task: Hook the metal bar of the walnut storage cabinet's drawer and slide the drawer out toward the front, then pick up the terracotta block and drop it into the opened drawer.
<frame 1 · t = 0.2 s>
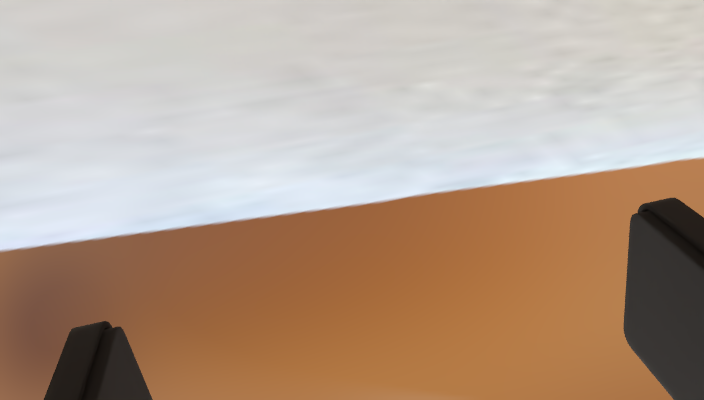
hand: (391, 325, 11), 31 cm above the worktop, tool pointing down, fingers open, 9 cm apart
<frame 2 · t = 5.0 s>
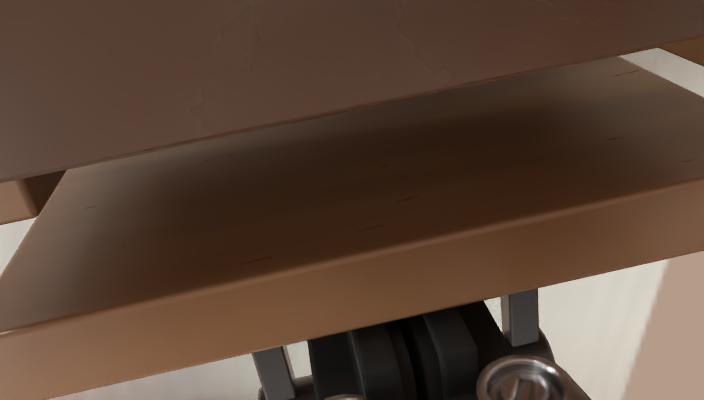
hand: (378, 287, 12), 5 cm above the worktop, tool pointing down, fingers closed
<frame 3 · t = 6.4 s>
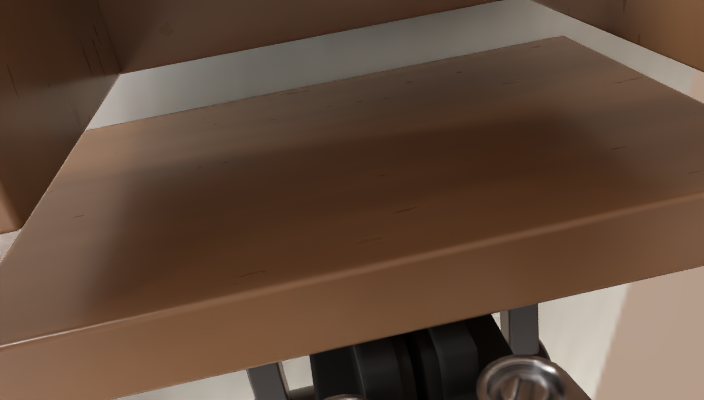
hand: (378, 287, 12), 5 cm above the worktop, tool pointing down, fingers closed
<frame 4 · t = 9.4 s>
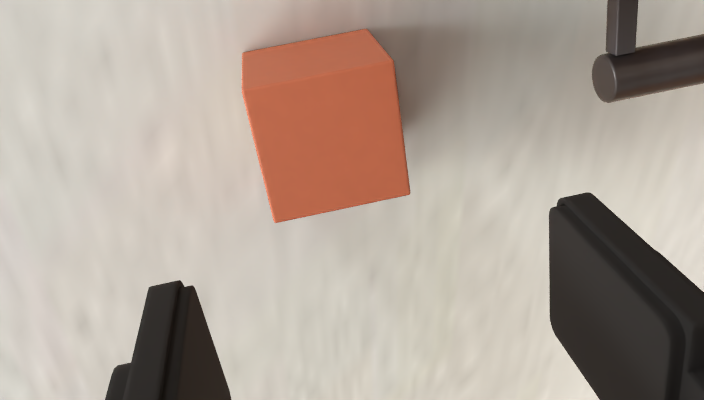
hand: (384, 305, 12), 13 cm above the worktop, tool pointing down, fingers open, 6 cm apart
block: (316, 100, 23), on the worktop
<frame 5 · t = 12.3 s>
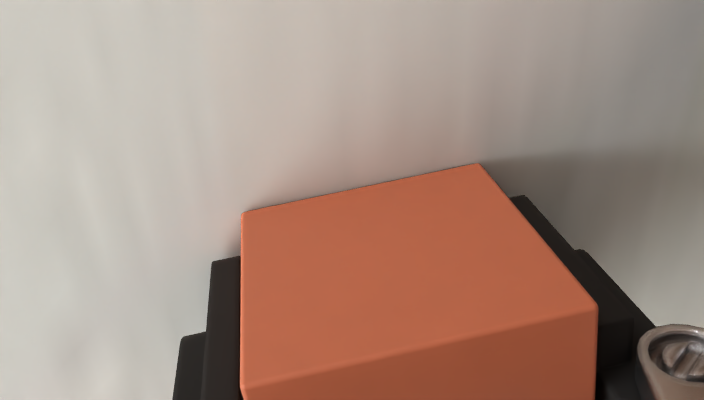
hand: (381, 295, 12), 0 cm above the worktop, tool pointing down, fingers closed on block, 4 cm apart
block: (377, 284, 13), on the worktop, touching gripper
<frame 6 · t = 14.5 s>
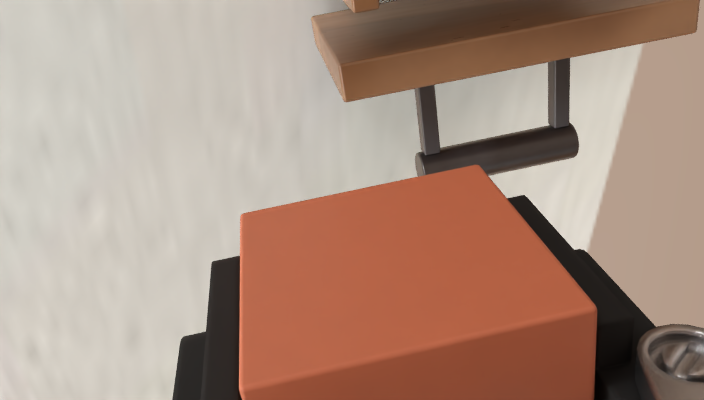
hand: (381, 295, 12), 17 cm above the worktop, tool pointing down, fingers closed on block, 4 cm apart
block: (377, 286, 13), point 16 cm above the worktop, touching gripper
when the fingers open (13 cm above the worktop, at t = 17.0 s): block drops 11 cm, resting on drawer.
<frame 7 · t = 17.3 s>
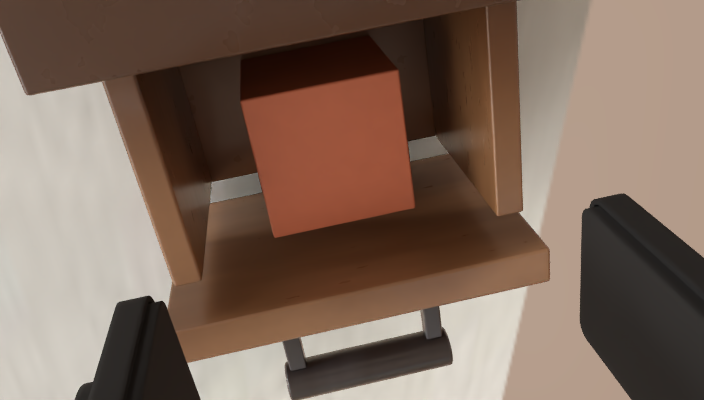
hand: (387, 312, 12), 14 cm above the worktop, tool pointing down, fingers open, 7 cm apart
block: (317, 109, 22), point 2 cm above the worktop, touching drawer
drawer: (325, 142, 20), point 5 cm above the worktop, slide at 7.4 cm, touching block
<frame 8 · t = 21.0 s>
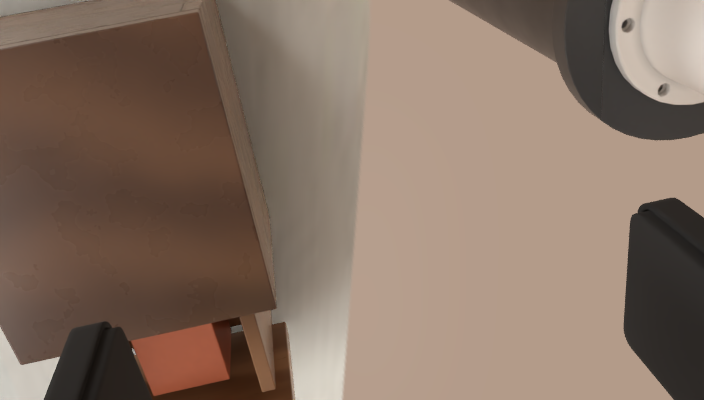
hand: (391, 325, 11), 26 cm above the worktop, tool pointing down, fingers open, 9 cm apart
block: (187, 310, 39), point 2 cm above the worktop, touching drawer
cabinet: (133, 131, 36), on the worktop
drawer: (183, 341, 37), point 5 cm above the worktop, slide at 7.4 cm, touching block
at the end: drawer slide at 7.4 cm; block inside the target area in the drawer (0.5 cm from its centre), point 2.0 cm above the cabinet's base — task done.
